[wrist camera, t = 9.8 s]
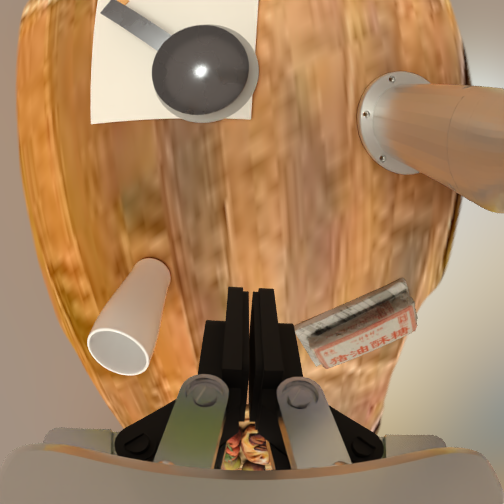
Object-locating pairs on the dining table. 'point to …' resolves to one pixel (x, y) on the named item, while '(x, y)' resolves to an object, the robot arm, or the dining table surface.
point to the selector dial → (189, 62)
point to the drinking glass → (131, 320)
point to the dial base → (142, 55)
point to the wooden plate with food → (247, 449)
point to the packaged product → (359, 325)
